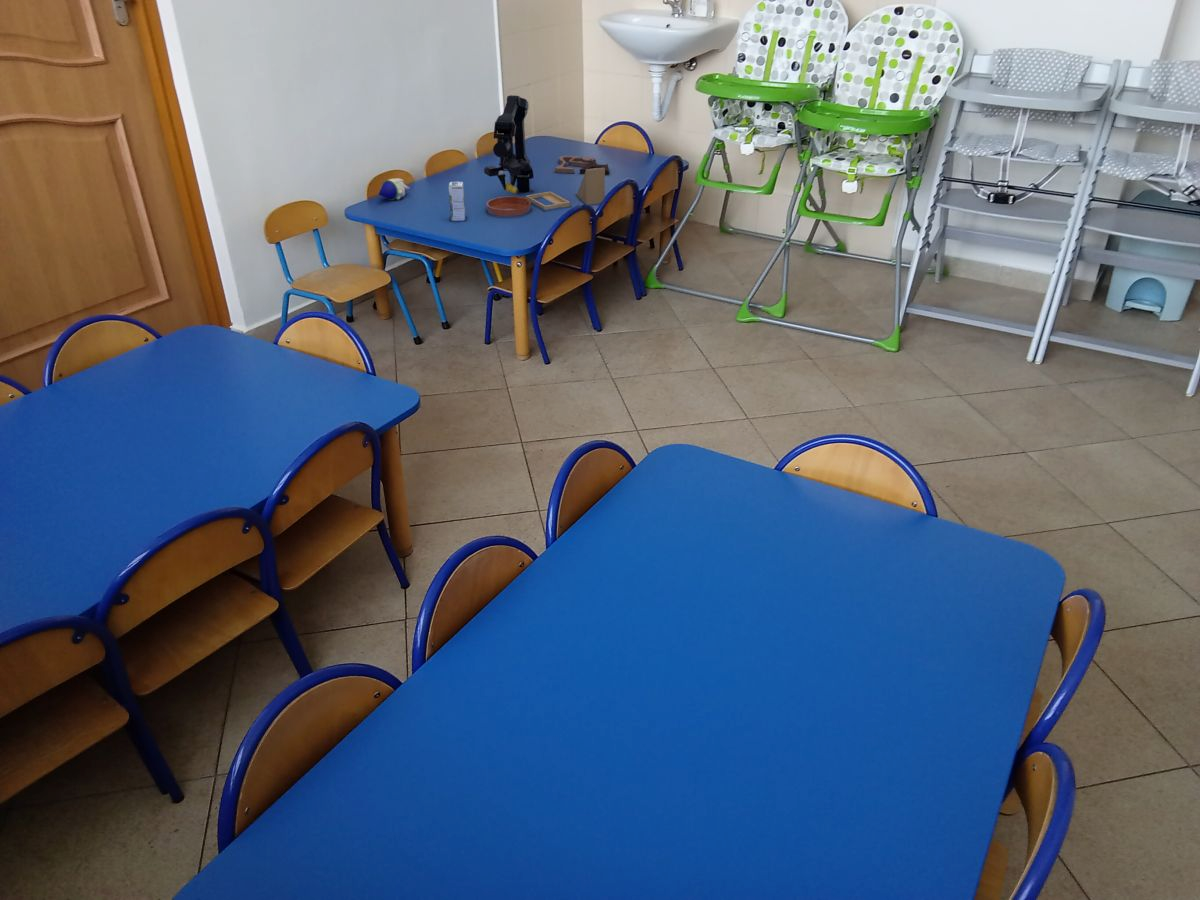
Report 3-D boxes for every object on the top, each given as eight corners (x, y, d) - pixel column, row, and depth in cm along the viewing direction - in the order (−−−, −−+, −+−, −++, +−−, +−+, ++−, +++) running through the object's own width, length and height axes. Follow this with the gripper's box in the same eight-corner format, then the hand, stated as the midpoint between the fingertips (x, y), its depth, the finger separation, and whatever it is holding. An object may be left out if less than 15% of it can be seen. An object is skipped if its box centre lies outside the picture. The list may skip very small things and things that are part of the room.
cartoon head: (411, 199, 398) (384, 210, 383) (395, 185, 399) (367, 196, 383) (418, 183, 393) (391, 194, 377) (402, 170, 394) (374, 180, 378)
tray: (525, 200, 388) (525, 195, 387) (550, 195, 393) (550, 191, 392) (544, 211, 375) (544, 206, 374) (569, 206, 380) (569, 201, 379)
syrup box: (451, 216, 369) (448, 181, 361) (466, 216, 369) (463, 181, 362) (451, 221, 364) (447, 185, 356) (465, 220, 365) (462, 185, 357)
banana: (499, 188, 375) (498, 180, 373) (506, 187, 377) (506, 179, 375) (511, 195, 367) (511, 187, 365) (519, 194, 368) (518, 186, 367)
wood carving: (608, 175, 420) (616, 161, 439) (608, 170, 419) (616, 157, 438) (550, 172, 424) (560, 159, 444) (550, 167, 423) (560, 155, 442)
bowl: (480, 208, 379) (479, 200, 377) (518, 201, 387) (518, 193, 385) (498, 220, 365) (498, 212, 364) (538, 212, 373) (538, 205, 372)
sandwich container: (594, 192, 397) (594, 158, 388) (605, 202, 384) (605, 167, 376) (575, 194, 394) (575, 160, 386) (586, 204, 382) (585, 169, 374)
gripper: (494, 158, 353) (496, 197, 361) (535, 152, 361) (537, 190, 369) (482, 152, 361) (485, 190, 369) (523, 146, 369) (525, 183, 378)
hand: (508, 189), depth 371 cm, fingers closed on banana, 3 cm apart
